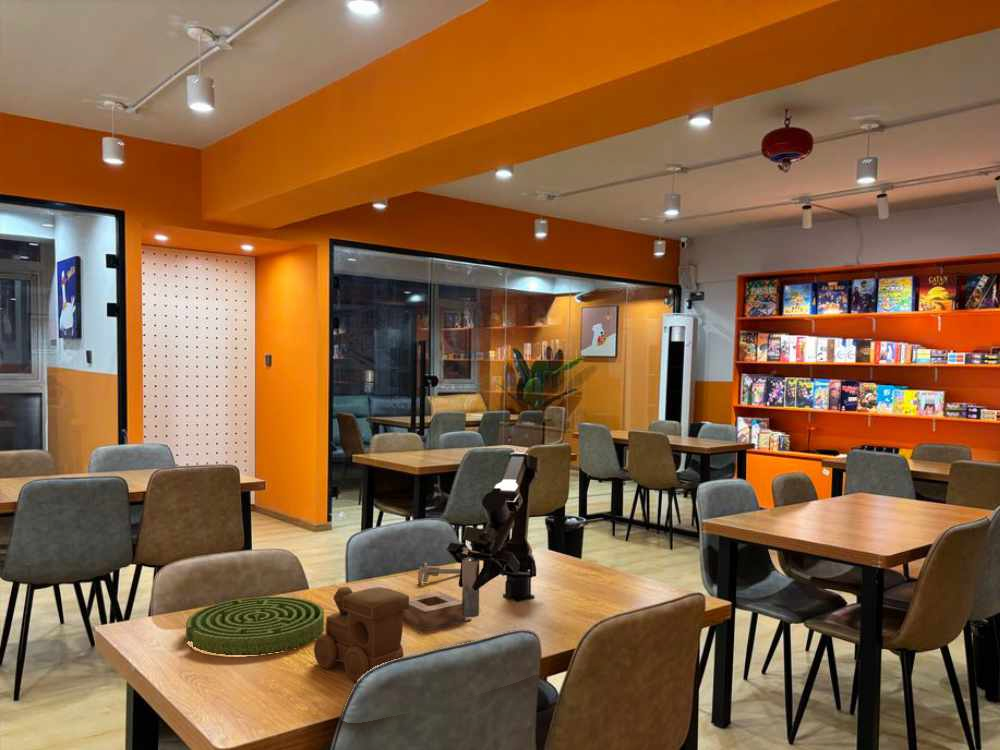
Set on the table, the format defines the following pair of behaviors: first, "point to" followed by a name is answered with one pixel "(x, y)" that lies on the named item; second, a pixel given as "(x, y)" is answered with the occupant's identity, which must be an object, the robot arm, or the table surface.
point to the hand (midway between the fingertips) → (467, 588)
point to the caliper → (434, 572)
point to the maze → (255, 625)
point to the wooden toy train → (363, 630)
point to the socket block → (433, 611)
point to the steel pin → (470, 587)
